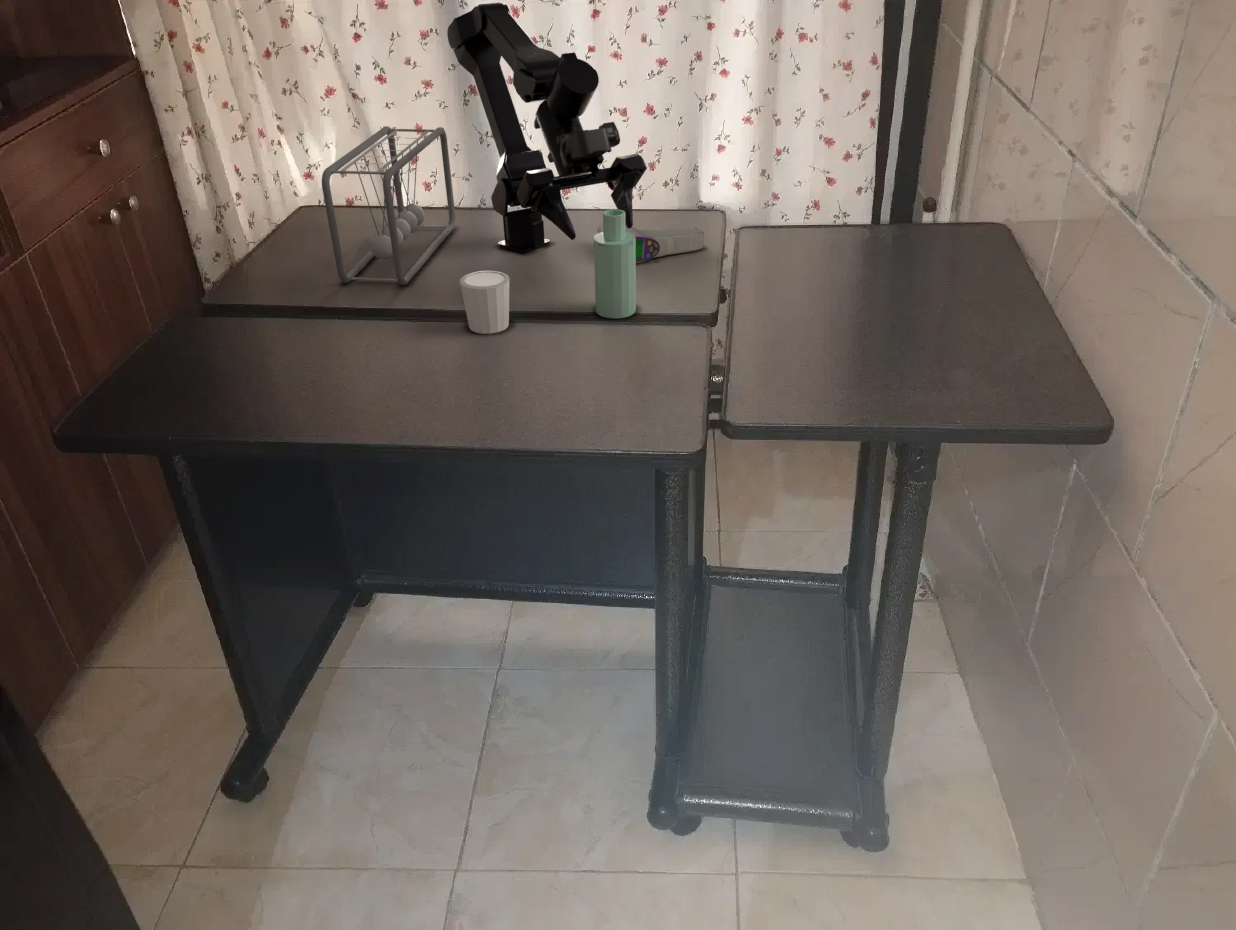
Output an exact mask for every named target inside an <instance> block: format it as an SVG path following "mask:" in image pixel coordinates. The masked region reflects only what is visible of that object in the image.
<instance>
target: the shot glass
mask: <svg viewBox="0 0 1236 930" xmlns="http://www.w3.org/2000/svg"><path fill="white" fill-rule="evenodd" d="M510 280H511V279H510V276H509V275H508V274H507V273H505V272H502V271H497V270H479V271H474V272H473V271H472V272H470V273H468V274H465V275H463V276H462V277H460V280H459V285H460V291H461V294H462V295H461V296H462V300H463V305H464V309H465V314H466V319H467V325H468V328H469V329H470V331H471V332H474V333H477V334H483V335H485V334H486V335H492V334H496V333H500V332H503V331H505V330H506V329H508V328H509V325H510Z"/></svg>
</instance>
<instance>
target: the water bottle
mask: <svg viewBox="0 0 1236 930" xmlns="http://www.w3.org/2000/svg"><path fill="white" fill-rule="evenodd" d="M602 212H603V213H602V222H603V232H601V233H598V232H597V233H596V234H595V235H594V236H593V264H594V265H593V267H594V299H595V300H594V301H595V302H594V303H595V313H596V314H597V315H598V316H600V317H602V318H606V319H624V318H627V317H631V316H632V315H634V314H635V313H636V308H637V263H636V238H635V235H634V234H632V233H630V232H626V231H625V212H624V211H623V210H618V209H617V208H613V209H606V210H604V211H602Z"/></svg>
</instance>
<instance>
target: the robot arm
mask: <svg viewBox="0 0 1236 930" xmlns="http://www.w3.org/2000/svg"><path fill="white" fill-rule="evenodd" d="M446 34H447V41H448V44H449V47H450V49H452V50H453V53H454V56H455V57H456V60H457V62H458V64H459V65H460V66H461V67H463V69H465V70H466V71H467V72H468V73H469V74H470V75H471V76H472V77H473V79H474V83H475V86H476V89H477V91H478V95H479V97H480V101H481V103H482V107H483V110H484V113H485V116H486V119H487V123H488V125H489V128H490V131H491V134H492V138H493V140H494V143H495V146H496V149H497V153H498V156H499V162H498V166H497V170H496V174H495V178H496V184H495V187H494V188H493V191H492V194H491V196H490V199H491V204H492V209H493V210H494V211H495V212H496V213H498V214H499V215H500V216H502V225H503V226H502V227H503V237H504V238H503V239H504V240H500V241H498V243H497V246H499V247H502V248H505V249H508V250H512V251H516V252H519V253H522V254H526V253H527V254H528V253H529V252H531V251H534V250H538V249H539V248H542V247H544V246H546V245H549V244H550V242H551V240H550V239H548V238H545V224H544V223H545V222H544V220H543V217H544V218H545V219H547V220H548V221H550V222H551V223H552V224H554V226H556V227H557V229H559V230H560V231H561V232H562V233H563V234H564V235H565V236H566V237H568V238H569V239H570V241H574V240H575V239H576V236H577V235H576V230H575V228H574V225H573V223H572V221H571V218H570V216H569V214H568V211H567V209H566V207H565V205H564V202H563V200H562V191H564V190H569V189H576V188H582V187H588V186H592V185H593V186H594V185H599V184H605V183H607V186H608V188H609V189H610V190H612V192H611V194H610V197H611V199H612V201H613V203H614V206H615V208H616V209H618V210H623V211H624V212H625V225H626V226H627V228H628V229H630V228H631V227H633V225H634V216H633V214H634V213H633V194H634V193H633V190H634V188H635V187H636V186H637V185H638V183H639V182H640V180H641V178H642V177H643V175H644V174H645V172H646V171H647V169H648V167H647V165H646V162H645V160H644V158H643V157H642V155H641V154H638V153H632V154H625V155H620V156H615V158H614V160H613V162H612V163H611V165H610V167H604V168H599V165H602V164H603V162H604V161H605V157H604V155H605V154H606V153H611V152H613V151H612V148H615V147H617V146H618V145H620V143H621V136H620V132H619V129H618V127H617V125H616V124H615V121H610V122H603V123H602V124H600V125H599V126H598V128H594V129H584V128H583V126H582V123H581V121H580V118H579V117H580V116H582V115H584V113H585V112H586V110H587V108H588V106H589V104H590V103H591V101H592V98H593V96H594V94H595V92H596V90H597V88H598V87H599V82H600V78H599V73H598V71H597V69H595V68H594V67H593V66H592V65H591V64H590V63H589V62H587V61H585V60H583V59H580V58H578V56H577V54H576V52H574V51H571V52H563V53H561V55H560V56H558V55H557V54H556V53H554V52H553V51H552V50H549V49H545V48H542V47H539V46H538V45H536V43H535V42H534V41H533V40H532V38H531V37H530V36H529V35H528V34H527V33H526V32H525V31H524V29H523V27H522V26H520V24H519V23H518V22H517V21H516V19H515V18H514V17H513V16H512V15H511V12H510V7H508V5H507V4H506V3H502V2H491V3H490V2H489V3H480V4H478V5H476V6H474V7H473V8H472V9H471V10H469V11H468V12H466V13H464V14H461V15H460V16H456V17H454V18H453V20H452V21H451V23H450V24H449V25H448V27H447V32H446ZM501 59H503V60H504V61H505V63H506V64H507V65H508V66H509V68H510V69H511V70H512V72H513V74H512V85H513V87H514V89H515V93H516V94H517V95H518V96H519V97H520V99H521V100H522V101H523V102H524V103H525V104H529V103H530V104H531V103H537V102H540V104H539V105H538V107H537V109H536V112H535V118H534V121H533V127H534V129H535V130H538V129H540V131H541V133H542V136H543V138H544V141H545V144H546V147H547V149H548V151H549V152H548V154H547V160H548V162H549V163H551V164H552V163H553V164H554V167H555V169H556V172H557V175H558V176H555V174H554V172H553V170H552V169H551V168H550V167H547V166H546V162H545V159H544V155H543V153H542V152H541V151H540V150H539V149H534V150H533V149H531V147H530V146H529V145H528V144H527V141H526V138H525V136H524V132H523V129H522V127H521V123H520V120H519V118H518V114H517V111H516V108H515V105H514V102H513V99H512V96H511V93H510V90H509V86H508V84H507V81H506V78H505V75H504V71H503V69H502V66H501Z"/></svg>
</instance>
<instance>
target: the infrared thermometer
mask: <svg viewBox="0 0 1236 930" xmlns="http://www.w3.org/2000/svg"><path fill="white" fill-rule="evenodd" d="M625 231H626V232H630V233H632V234H634V235H635V238H636V264H641V263H644V262H647V261H650V260H651V259H655V258H659V257H664V256H668V255H669V256H670V255H675V254H683V253H689V252H695V251H698V250H701V249H703V248H704V242H705V241H704V240H705V232H704V231H703V230H701V229H699V228H697V227H688V228H660V229H659V228H658V229H655V228H654V229H653V228H652V229H647V228H645V229H639V228H635V227H633V226H632V227H631V228H630V229H628V228H627V226H626V225H625ZM601 232H603V221H601V223H600V224H599V225H598V226H597V234H598V233H601Z"/></svg>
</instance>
